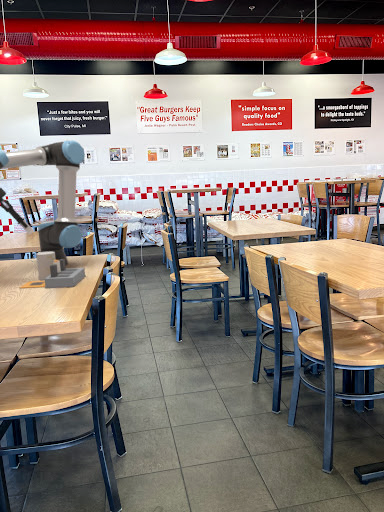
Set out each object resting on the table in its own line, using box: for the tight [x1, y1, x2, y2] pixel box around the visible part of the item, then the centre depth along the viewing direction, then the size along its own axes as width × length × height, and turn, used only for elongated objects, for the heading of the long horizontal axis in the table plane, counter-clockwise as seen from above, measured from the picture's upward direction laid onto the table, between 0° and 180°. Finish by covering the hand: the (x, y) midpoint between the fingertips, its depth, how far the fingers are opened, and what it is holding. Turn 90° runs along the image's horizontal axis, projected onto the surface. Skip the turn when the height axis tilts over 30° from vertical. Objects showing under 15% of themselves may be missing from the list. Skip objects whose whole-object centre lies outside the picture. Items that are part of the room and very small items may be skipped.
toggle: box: [53, 260, 61, 273], centre depth 189 cm, size 3×2×5 cm, turn 0°
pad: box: [19, 280, 45, 289], centre depth 187 cm, size 11×11×1 cm
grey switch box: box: [43, 259, 86, 289], centre depth 189 cm, size 20×12×9 cm, turn 0°
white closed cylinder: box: [35, 251, 56, 281], centre depth 198 cm, size 8×8×12 cm
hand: (32, 232), depth 194 cm, fingers closed
